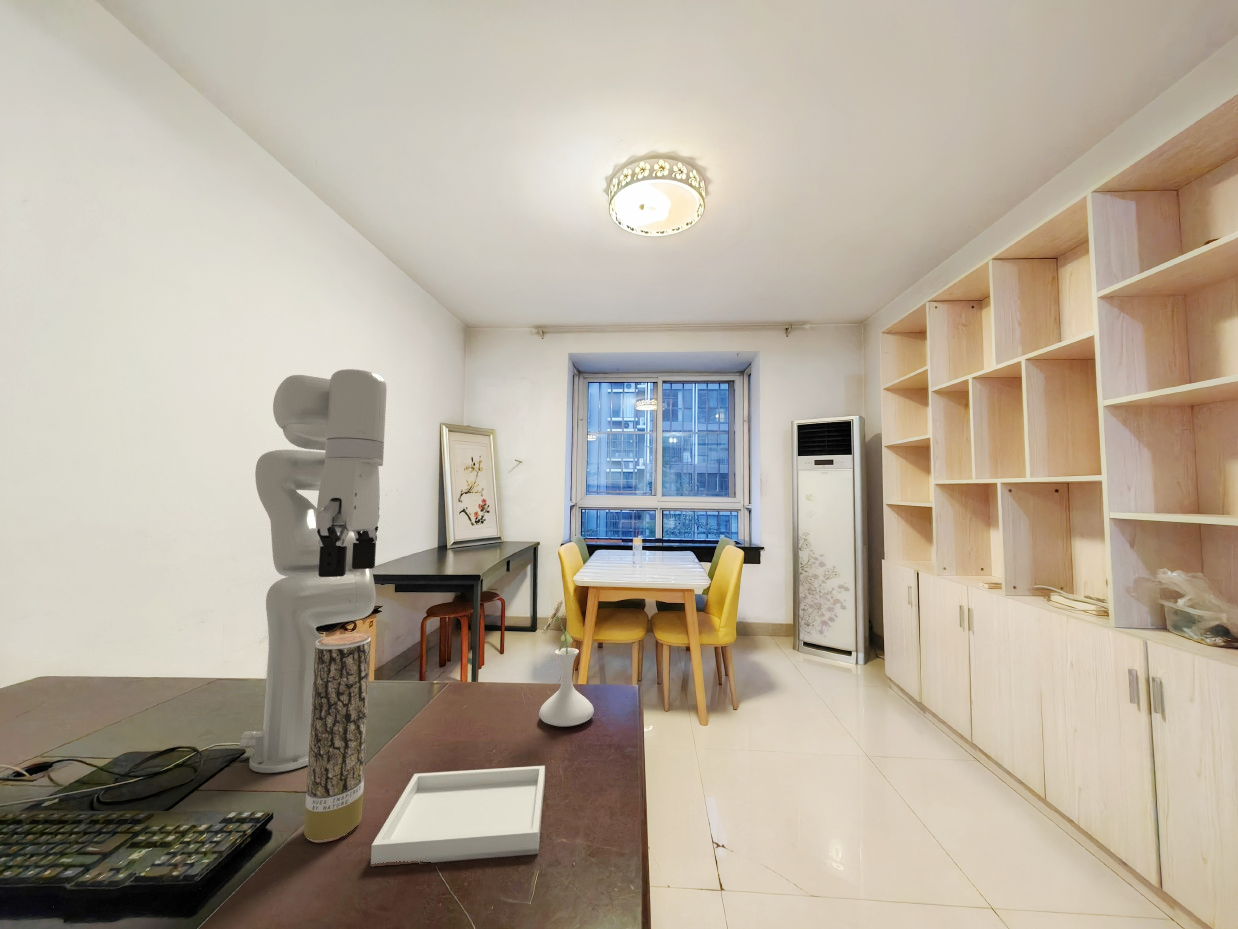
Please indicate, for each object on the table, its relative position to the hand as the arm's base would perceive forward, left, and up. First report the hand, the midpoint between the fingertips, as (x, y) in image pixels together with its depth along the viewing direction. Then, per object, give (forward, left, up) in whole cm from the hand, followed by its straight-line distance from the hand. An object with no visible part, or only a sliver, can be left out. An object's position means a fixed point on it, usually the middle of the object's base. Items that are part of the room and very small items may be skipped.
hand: (348, 572), depth 68 cm
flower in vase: (+31, +30, -34) cm, 55 cm away
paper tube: (0, 0, -34) cm, 34 cm away
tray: (+18, 0, -34) cm, 39 cm away
